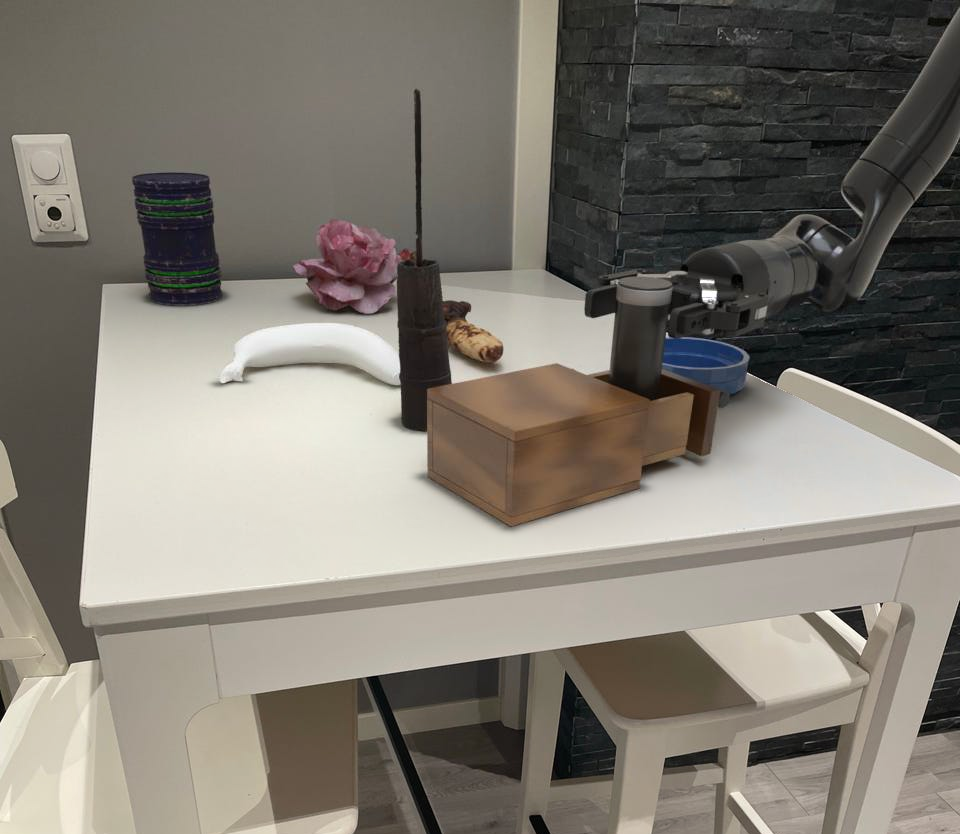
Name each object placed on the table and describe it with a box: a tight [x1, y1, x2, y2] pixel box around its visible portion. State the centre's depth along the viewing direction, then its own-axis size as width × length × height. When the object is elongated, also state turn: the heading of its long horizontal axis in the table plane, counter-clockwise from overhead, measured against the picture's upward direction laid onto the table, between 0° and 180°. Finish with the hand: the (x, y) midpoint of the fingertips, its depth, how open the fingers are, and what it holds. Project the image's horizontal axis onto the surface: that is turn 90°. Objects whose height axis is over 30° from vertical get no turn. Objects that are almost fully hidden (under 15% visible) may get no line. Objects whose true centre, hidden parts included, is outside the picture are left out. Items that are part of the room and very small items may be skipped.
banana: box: [218, 322, 401, 386], centre depth 103 cm, size 5×19×15 cm
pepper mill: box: [608, 277, 673, 401], centre depth 82 cm, size 4×4×13 cm
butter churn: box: [396, 88, 453, 432], centre depth 87 cm, size 9×10×28 cm
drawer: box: [587, 369, 731, 467], centre depth 85 cm, size 17×10×6 cm, turn 126°
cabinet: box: [426, 362, 650, 527], centre depth 79 cm, size 14×12×8 cm
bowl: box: [662, 336, 751, 395], centre depth 104 cm, size 12×12×4 cm
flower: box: [292, 218, 411, 315], centre depth 130 cm, size 15×15×10 cm
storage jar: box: [131, 171, 223, 307], centre depth 129 cm, size 10×10×15 cm
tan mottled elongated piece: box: [443, 299, 504, 363], centre depth 112 cm, size 9×5×18 cm
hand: (629, 314), depth 79 cm, fingers open, 8 cm apart
